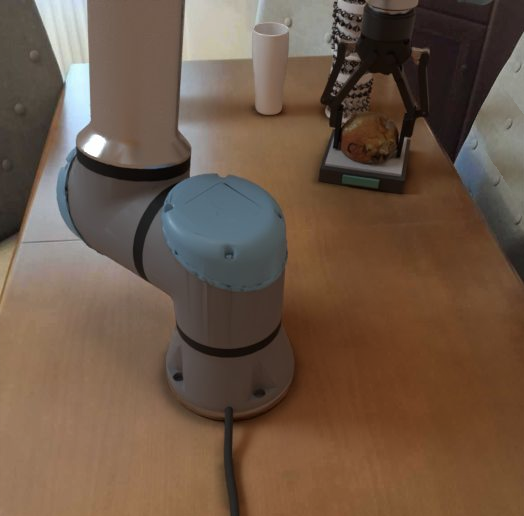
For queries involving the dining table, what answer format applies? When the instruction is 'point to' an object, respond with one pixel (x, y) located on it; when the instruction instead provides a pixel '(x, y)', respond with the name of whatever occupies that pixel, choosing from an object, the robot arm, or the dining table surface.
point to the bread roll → (369, 137)
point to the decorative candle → (349, 57)
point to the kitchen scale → (364, 170)
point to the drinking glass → (269, 65)
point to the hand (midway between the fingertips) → (367, 149)
